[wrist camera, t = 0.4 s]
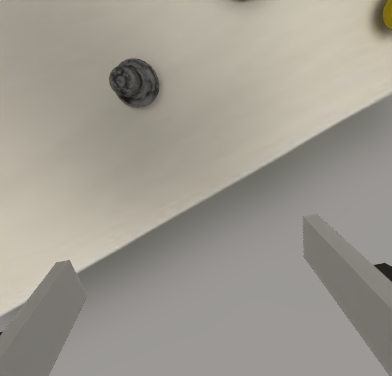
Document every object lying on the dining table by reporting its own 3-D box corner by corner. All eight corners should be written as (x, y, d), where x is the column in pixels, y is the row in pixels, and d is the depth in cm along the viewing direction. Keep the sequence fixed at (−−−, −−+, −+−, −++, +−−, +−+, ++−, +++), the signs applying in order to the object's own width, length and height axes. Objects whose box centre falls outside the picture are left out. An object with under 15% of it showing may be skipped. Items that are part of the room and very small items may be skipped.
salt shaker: (164, 68, 33) (153, 54, 22) (157, 110, 35) (144, 117, 24) (122, 57, 32) (88, 37, 21) (118, 101, 34) (85, 104, 23)
